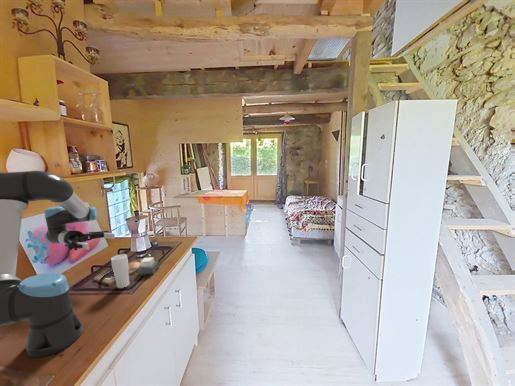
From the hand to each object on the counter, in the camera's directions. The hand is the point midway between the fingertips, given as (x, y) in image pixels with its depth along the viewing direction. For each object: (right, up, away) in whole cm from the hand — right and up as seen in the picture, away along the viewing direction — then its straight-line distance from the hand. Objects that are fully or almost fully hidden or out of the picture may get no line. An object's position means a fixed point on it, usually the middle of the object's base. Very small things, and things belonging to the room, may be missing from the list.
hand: (101, 241), depth 117 cm
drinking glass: (+10, -22, 0) cm, 24 cm away
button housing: (+17, -19, +13) cm, 29 cm away
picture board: (+2, -20, +13) cm, 24 cm away
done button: (+17, -17, +13) cm, 27 cm away
